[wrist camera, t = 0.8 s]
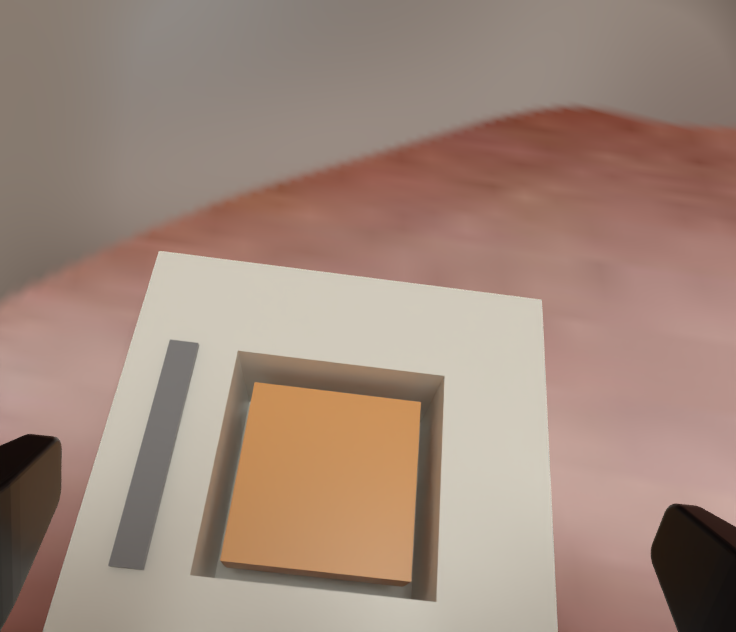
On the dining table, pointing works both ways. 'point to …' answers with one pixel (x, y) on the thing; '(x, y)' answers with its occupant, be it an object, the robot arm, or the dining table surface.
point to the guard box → (330, 373)
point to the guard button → (325, 486)
